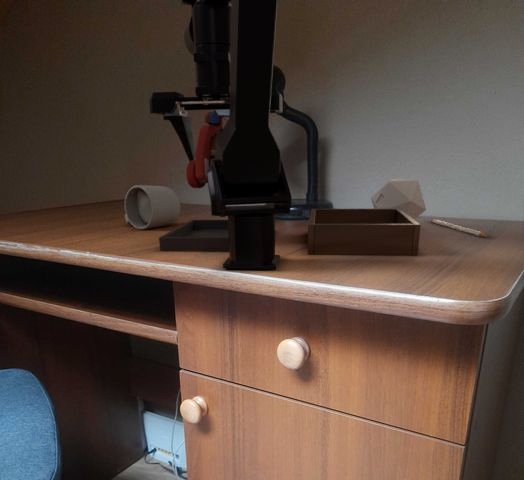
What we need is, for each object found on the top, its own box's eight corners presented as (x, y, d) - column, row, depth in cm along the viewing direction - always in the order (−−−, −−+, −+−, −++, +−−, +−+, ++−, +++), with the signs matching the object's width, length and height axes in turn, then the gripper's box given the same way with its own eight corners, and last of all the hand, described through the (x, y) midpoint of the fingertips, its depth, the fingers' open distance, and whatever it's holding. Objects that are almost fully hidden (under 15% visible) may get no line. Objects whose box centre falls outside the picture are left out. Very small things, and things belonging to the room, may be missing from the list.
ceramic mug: (185, 225, 95) (182, 183, 92) (154, 230, 88) (150, 185, 85) (146, 222, 100) (142, 182, 97) (114, 227, 94) (109, 185, 91)
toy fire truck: (179, 190, 72) (173, 111, 68) (221, 184, 83) (218, 116, 79) (220, 190, 69) (216, 109, 66) (259, 185, 80) (257, 114, 76)
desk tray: (250, 251, 70) (250, 237, 69) (159, 250, 71) (158, 237, 70) (265, 230, 87) (265, 219, 87) (192, 230, 89) (191, 219, 88)
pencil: (434, 222, 94) (434, 218, 94) (489, 238, 77) (489, 234, 77) (430, 222, 94) (431, 218, 94) (484, 238, 77) (485, 234, 77)
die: (376, 225, 96) (358, 184, 89) (419, 201, 94) (404, 157, 87) (391, 248, 89) (374, 206, 83) (438, 223, 87) (423, 177, 81)
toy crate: (417, 255, 66) (420, 224, 64) (307, 254, 67) (308, 224, 66) (398, 233, 83) (400, 208, 81) (310, 232, 84) (311, 208, 83)
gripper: (285, 55, 75) (285, 164, 81) (167, 60, 78) (175, 165, 83) (279, 40, 65) (279, 166, 71) (142, 46, 67) (154, 168, 73)
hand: (219, 166), depth 75 cm, fingers closed on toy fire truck, 8 cm apart
